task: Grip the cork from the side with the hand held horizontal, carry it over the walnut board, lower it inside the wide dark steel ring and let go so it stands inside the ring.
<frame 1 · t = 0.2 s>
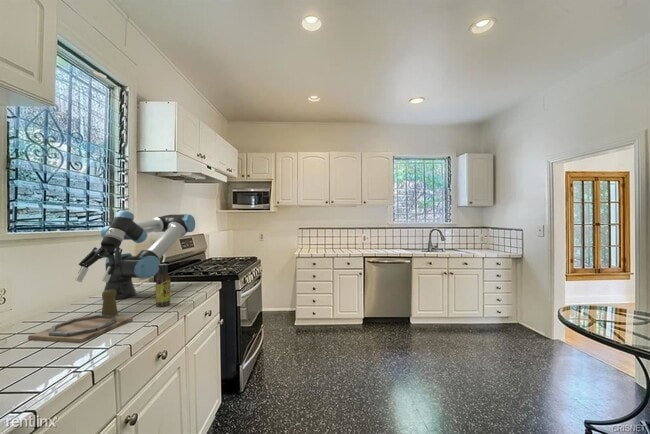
hand: (91, 281, 132), 15 cm above the worktop, tool tilted 35°, fingers open, 13 cm apart
steel ring: (84, 324, 114), on the walnut board, point 1 cm above the worktop
sauce bottle: (163, 305, 145), on the worktop
cork: (109, 315, 131), on the worktop
walnut board: (84, 328, 114), on the worktop
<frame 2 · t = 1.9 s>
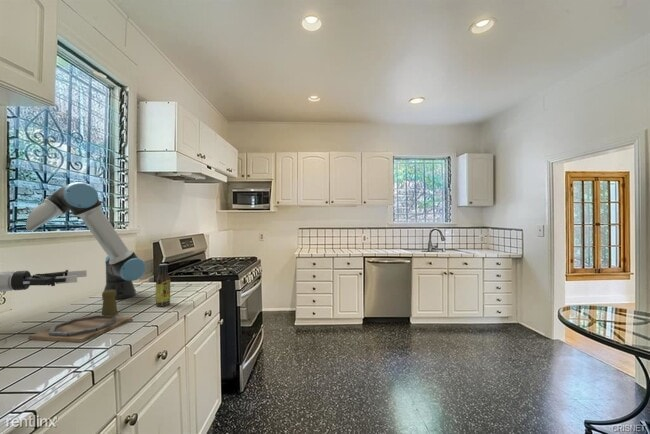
hand: (81, 275, 127), 18 cm above the worktop, tool horizontal, fingers open, 13 cm apart
nothing on the worktop moved.
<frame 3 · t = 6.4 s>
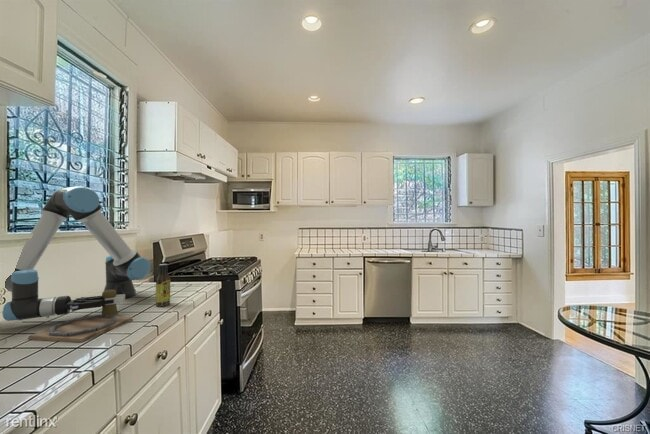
hand: (123, 298, 133), 7 cm above the worktop, tool horizontal, fingers closed on cork, 4 cm apart
cork: (109, 315, 131), on the worktop, touching gripper
everything else where it was.
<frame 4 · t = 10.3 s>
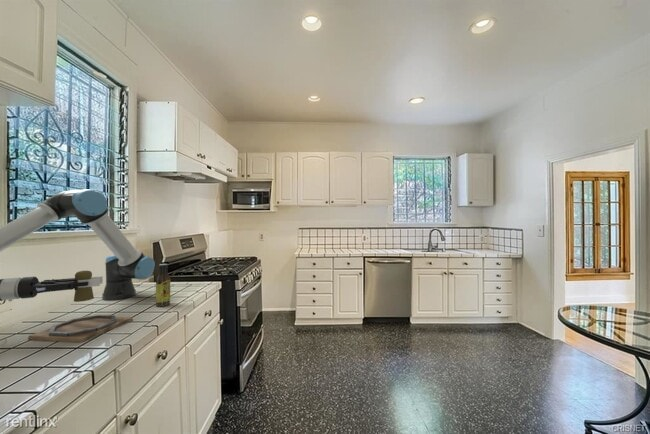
hand: (100, 281, 117), 18 cm above the worktop, tool horizontal, fingers closed on cork, 4 cm apart
cork: (83, 299, 114), point 11 cm above the worktop, touching gripper
everything else where it was.
when the fingers open (9 cm above the worktop, at t = 14.4 s): cork moves 2 cm, point 1 cm above the worktop.
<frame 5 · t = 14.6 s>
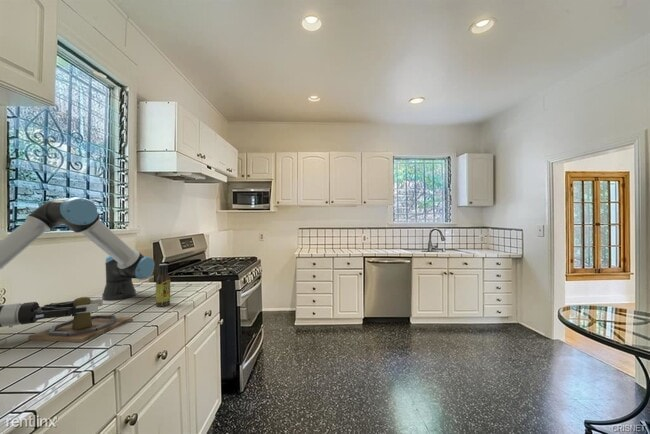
hand: (100, 304, 117), 9 cm above the worktop, tool horizontal, fingers open, 7 cm apart
cork: (82, 327, 113), point 1 cm above the worktop, touching gripper
everything else where it was.
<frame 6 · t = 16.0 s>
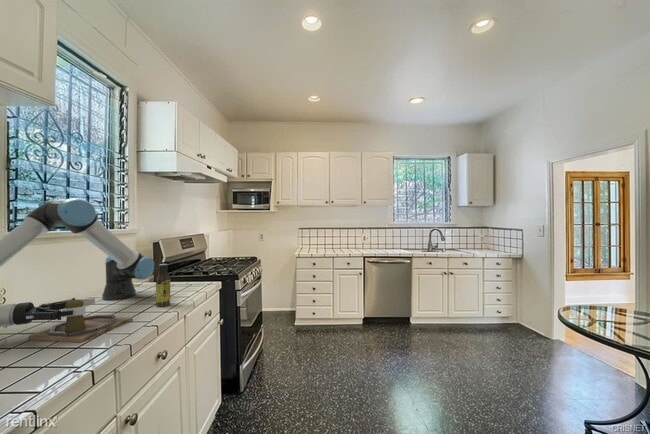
hand: (90, 305, 115), 9 cm above the worktop, tool horizontal, fingers open, 13 cm apart
cork: (75, 330, 110), point 1 cm above the worktop, touching gripper, walnut board
everything else where it was.
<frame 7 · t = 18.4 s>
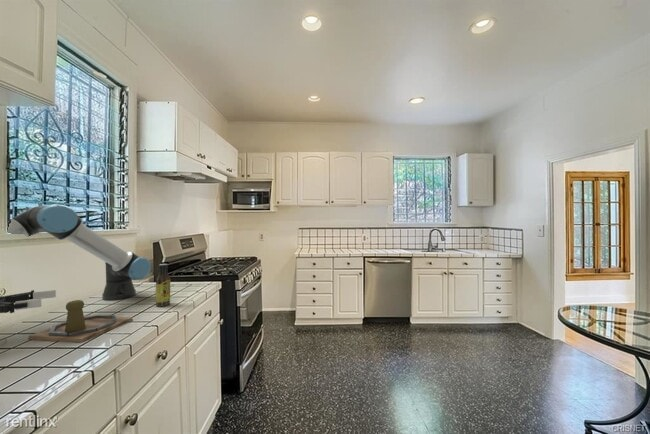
hand: (48, 297, 110), 13 cm above the worktop, tool horizontal, fingers open, 13 cm apart
cork: (75, 331, 110), point 1 cm above the worktop, touching walnut board
everything else where it was.
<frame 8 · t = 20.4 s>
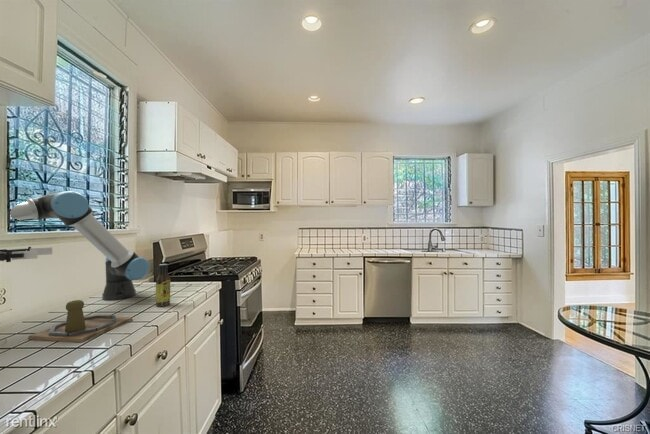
hand: (45, 252, 112), 30 cm above the worktop, tool horizontal, fingers open, 13 cm apart
nothing on the worktop moved.
at the end: cork inside the target area (4.8 cm from its centre), point 1.0 cm above the worktop; cork tilted 0°; the gripper is holding nothing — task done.
